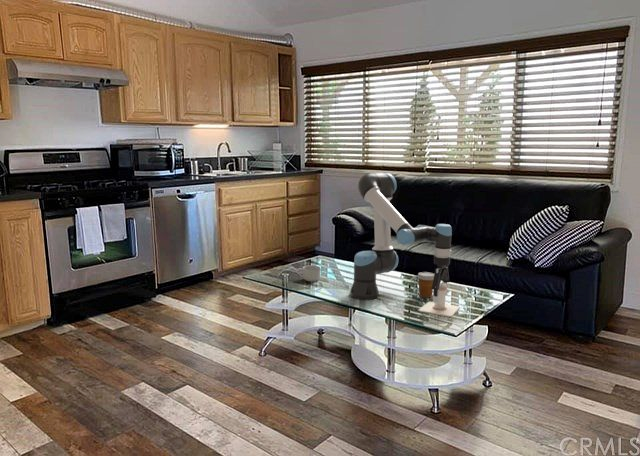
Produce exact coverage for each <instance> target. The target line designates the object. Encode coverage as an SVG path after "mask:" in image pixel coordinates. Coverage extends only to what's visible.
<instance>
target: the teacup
mask: <svg viewBox="0 0 640 456" xmlns="http://www.w3.org/2000/svg"><path fill="white" fill-rule="evenodd" d="M321 269H322V267H320V266H318V265H313V264H312V265H311V264H308V265H304V266H302V268H301V267H299V268H297V270H296V273H297V275H299V276H300V277H301V278H303V279H304V280H305V281H307V282H311V283H312V282H314V283H315V282H317V281H318V280H320V278H321ZM300 271H301V272H302V273H300Z"/></svg>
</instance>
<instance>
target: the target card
mask: <svg viewBox="0 0 640 456" xmlns="http://www.w3.org/2000/svg"><path fill="white" fill-rule="evenodd" d="M434 305H435V302H433V301H430V300H429V301H428V302H426V303H425V304H424V305H422V306H421V307H420V308H419V309H418V312H419V313H426V314H431V315H437V316H443V317H448V318H452V317H453V316H454V315H455V314H456V313H457V312H458V311H459V310H460V308H461V306H458V305H453V304H447V303H445V309H444V310H438V309H435V308H434Z"/></svg>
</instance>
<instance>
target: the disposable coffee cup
mask: <svg viewBox="0 0 640 456" xmlns="http://www.w3.org/2000/svg"><path fill="white" fill-rule="evenodd" d="M434 274H435V272H434V273H433V272H429V271H422V272H418V274H417V279H418V290H419V291H418V292H419V296H420V297H421V298H431V297H432V298H433V289H431V288H432V285H433V279H434Z"/></svg>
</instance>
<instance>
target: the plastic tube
mask: <svg viewBox="0 0 640 456" xmlns="http://www.w3.org/2000/svg"><path fill="white" fill-rule="evenodd" d="M435 287H436V286H435ZM445 304H446V284H444V283H442V282H440V286H439V303H435V305H434V308H435V309H438V310H444V309H445Z"/></svg>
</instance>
